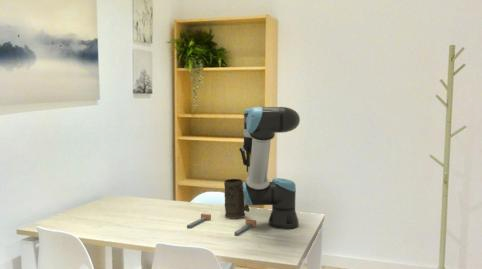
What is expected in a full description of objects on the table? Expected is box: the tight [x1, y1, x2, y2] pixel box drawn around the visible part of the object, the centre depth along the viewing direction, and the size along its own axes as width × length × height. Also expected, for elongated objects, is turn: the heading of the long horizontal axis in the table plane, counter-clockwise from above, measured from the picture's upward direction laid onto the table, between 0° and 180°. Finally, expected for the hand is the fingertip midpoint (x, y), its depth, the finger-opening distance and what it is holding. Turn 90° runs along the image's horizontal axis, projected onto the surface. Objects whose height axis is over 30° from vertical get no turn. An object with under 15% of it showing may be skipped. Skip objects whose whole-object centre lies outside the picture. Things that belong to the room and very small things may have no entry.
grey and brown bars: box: [186, 212, 257, 237], centre depth 221 cm, size 31×18×3 cm, turn 65°
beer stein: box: [223, 178, 250, 219], centre depth 238 cm, size 15×11×20 cm
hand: (250, 177), depth 252 cm, fingers closed
